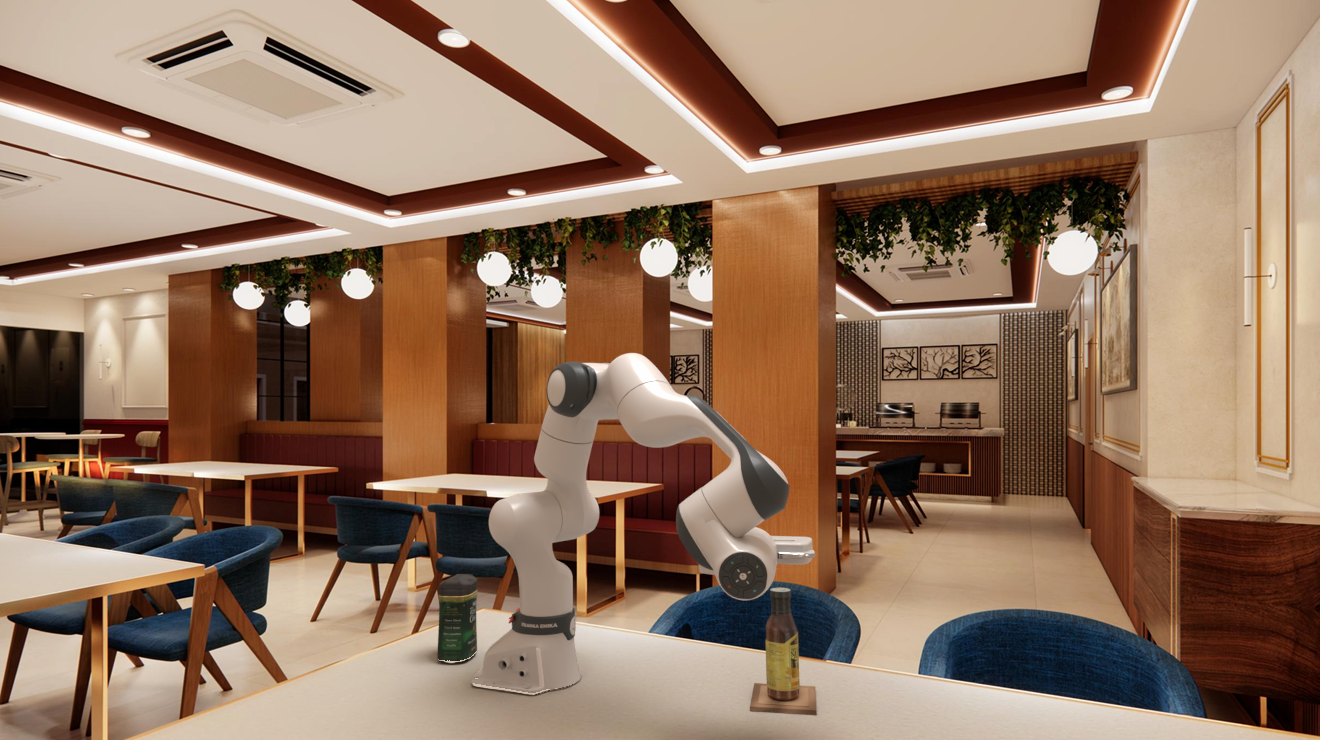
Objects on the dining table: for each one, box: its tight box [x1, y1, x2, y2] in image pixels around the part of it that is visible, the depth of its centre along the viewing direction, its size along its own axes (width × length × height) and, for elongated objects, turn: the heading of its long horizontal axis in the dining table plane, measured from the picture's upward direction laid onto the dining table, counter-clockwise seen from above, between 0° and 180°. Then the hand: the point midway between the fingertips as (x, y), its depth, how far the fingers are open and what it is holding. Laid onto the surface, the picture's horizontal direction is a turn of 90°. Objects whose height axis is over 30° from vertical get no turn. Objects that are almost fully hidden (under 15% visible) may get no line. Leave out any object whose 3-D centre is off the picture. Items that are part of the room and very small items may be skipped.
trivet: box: [749, 682, 818, 716], centre depth 139 cm, size 12×12×1 cm
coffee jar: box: [436, 573, 478, 661], centre depth 168 cm, size 10×8×19 cm
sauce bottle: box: [765, 587, 801, 700], centre depth 140 cm, size 6×6×20 cm
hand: (756, 540), depth 133 cm, fingers open, 8 cm apart
